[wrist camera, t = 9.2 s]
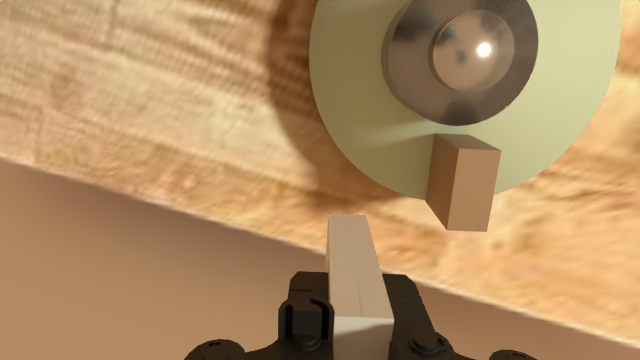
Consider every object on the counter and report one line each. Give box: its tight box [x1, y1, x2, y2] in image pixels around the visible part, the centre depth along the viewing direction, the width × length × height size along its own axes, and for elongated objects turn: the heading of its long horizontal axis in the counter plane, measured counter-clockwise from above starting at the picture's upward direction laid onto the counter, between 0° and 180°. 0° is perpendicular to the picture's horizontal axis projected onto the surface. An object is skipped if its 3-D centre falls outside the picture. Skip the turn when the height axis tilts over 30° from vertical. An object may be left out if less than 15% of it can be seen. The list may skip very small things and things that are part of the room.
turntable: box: [309, 0, 621, 232], centre depth 23 cm, size 20×20×7 cm
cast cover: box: [381, 0, 539, 126], centre depth 22 cm, size 8×8×6 cm
